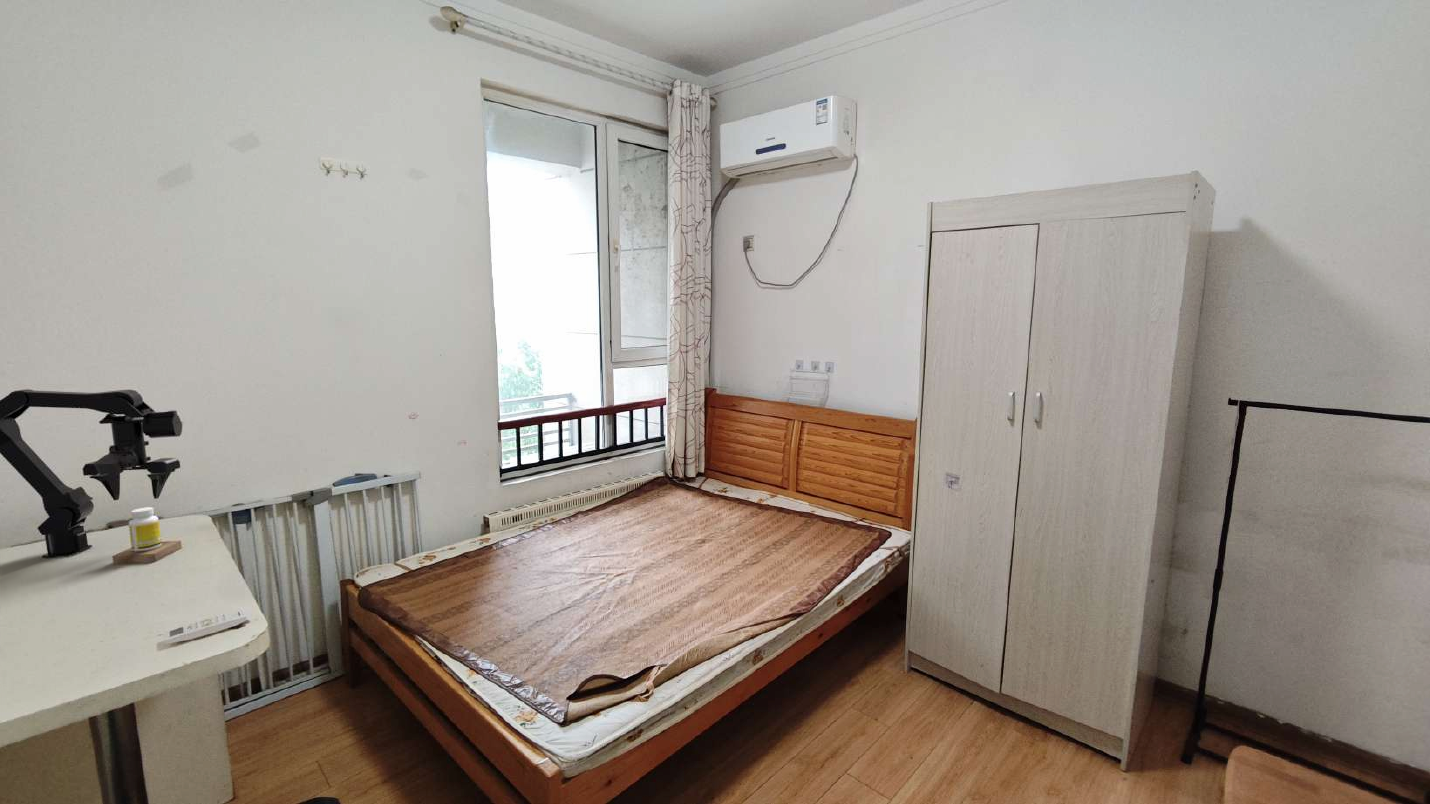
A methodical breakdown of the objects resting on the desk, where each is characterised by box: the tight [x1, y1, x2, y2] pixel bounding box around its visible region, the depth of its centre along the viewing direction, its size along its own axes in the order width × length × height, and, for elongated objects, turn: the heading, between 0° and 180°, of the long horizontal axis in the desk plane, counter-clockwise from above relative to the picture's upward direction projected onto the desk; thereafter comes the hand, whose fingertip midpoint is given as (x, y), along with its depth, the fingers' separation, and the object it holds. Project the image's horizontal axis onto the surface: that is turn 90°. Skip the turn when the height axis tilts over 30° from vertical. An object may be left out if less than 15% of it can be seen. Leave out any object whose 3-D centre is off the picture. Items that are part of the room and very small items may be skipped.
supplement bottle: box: [128, 506, 162, 551], centre depth 151 cm, size 5×5×10 cm
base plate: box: [112, 540, 182, 565], centre depth 152 cm, size 9×9×2 cm
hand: (136, 499), depth 159 cm, fingers open, 9 cm apart
